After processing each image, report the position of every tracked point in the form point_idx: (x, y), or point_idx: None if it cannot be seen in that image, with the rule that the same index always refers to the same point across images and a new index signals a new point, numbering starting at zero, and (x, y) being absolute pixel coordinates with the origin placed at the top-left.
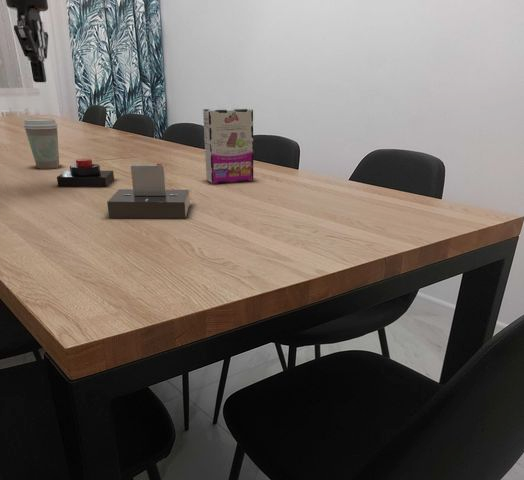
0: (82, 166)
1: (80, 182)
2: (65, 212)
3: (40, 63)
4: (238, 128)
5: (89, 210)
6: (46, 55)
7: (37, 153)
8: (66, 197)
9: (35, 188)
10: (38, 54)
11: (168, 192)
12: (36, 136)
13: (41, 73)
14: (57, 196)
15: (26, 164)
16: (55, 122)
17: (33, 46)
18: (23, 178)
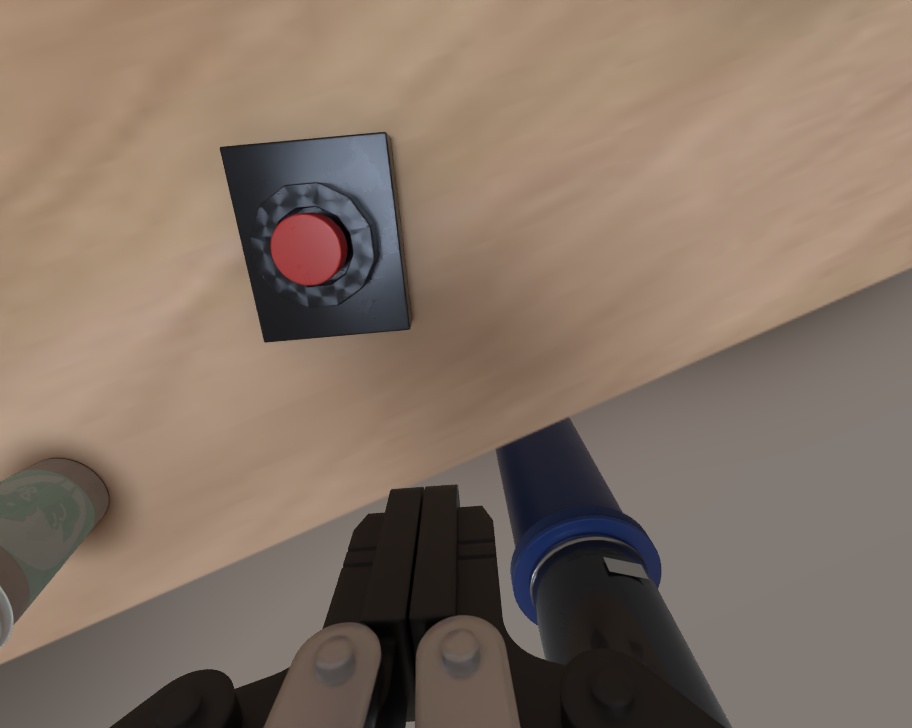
0: (345, 245)
1: (401, 240)
2: (793, 148)
3: (455, 608)
4: None
5: (775, 72)
6: (186, 703)
7: (76, 537)
8: (576, 228)
9: (445, 382)
10: (594, 671)
11: None
12: (29, 576)
13: (457, 536)
14: (562, 264)
15: None
16: None
17: None
18: (293, 483)
